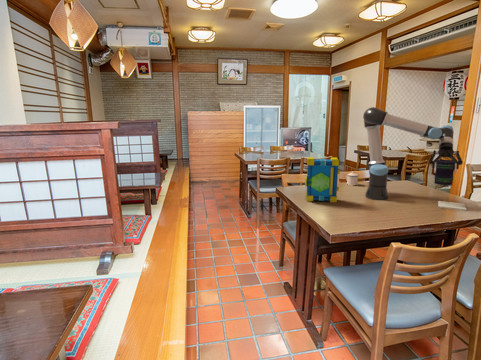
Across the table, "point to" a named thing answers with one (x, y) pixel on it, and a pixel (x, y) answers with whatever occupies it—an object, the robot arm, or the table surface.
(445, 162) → the rusty oil drum
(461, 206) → the placemat
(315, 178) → the decorative book
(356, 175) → the teacup with lid
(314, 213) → the table surface
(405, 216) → the table surface
